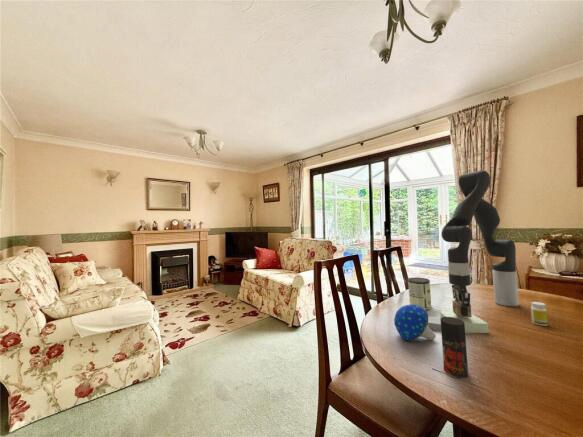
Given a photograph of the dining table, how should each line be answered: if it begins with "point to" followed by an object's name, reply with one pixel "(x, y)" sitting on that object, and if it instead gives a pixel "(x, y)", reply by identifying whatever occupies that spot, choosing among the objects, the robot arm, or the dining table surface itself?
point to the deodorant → (454, 347)
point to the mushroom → (413, 323)
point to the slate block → (434, 323)
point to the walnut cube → (458, 309)
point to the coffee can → (420, 292)
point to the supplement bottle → (539, 314)
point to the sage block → (469, 323)
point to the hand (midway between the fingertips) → (462, 312)
